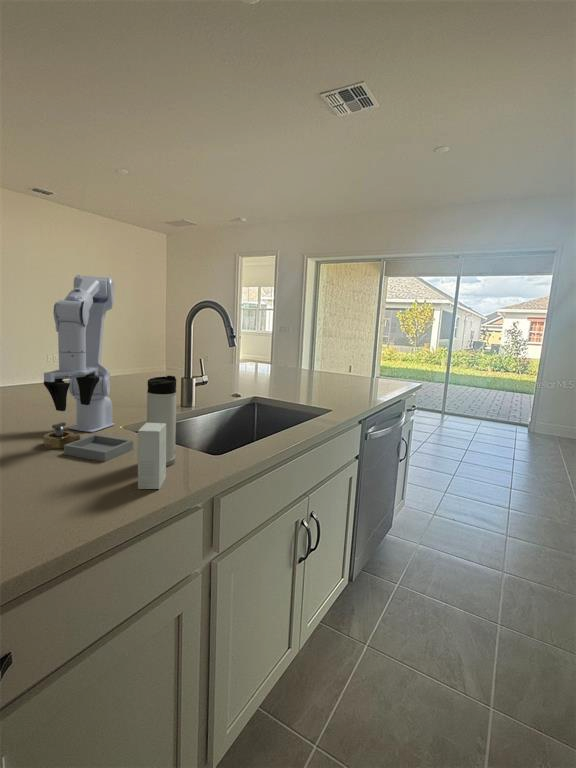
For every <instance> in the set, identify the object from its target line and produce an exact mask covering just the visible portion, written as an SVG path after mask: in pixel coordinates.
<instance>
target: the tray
mask: <svg viewBox="0 0 576 768" xmlns="http://www.w3.org/2000/svg"><path fill="white" fill-rule="evenodd" d="M132 450H134V440H133V439H126V438H120V437H114V436H108V435H107V436H106V435H102V434H95V433H94V434H92V435H89V436H87V437H84V438H80V440H77V441H74V442H72V443H69V444H66V445H64V448H63V455H67V456H72V457H77V458H82V459H89V460H93V461H97V462H98V461H99V462H104V463H105V462H107V461H110V460H112V459H114V458H116V457H118V456H121V455H123V454H126V453H127V452H130V451H132Z"/></svg>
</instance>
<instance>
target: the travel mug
mask: <svg viewBox="0 0 576 768" xmlns="http://www.w3.org/2000/svg"><path fill="white" fill-rule="evenodd" d="M176 388H177V378H176V376H174V375H167V376H158V377H157V376H156V377H152V378H149V379H148V380H147V391H146V394H147V395H146V423H165V424H166V467H170V466H171V465H173V464H174V463H175V462H176V427H177V425H176V424H177V389H176ZM169 465H170V466H169Z"/></svg>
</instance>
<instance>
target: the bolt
mask: <svg viewBox="0 0 576 768" xmlns="http://www.w3.org/2000/svg"><path fill="white" fill-rule="evenodd" d="M66 426H67V424H66V422H64V421H62V422H59V423H55V424H52V426H51V427H52V428H51V429H54V432H55V437H64V435H63V431H64V427H66Z"/></svg>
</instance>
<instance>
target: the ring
mask: <svg viewBox="0 0 576 768" xmlns="http://www.w3.org/2000/svg"><path fill="white" fill-rule="evenodd" d="M63 435H64V437H55V431H51V432H48V433H45V434H44V435H43V446H44V448H47V449H51V450H52V449H58V450H59V449H64V445H66V444H69V443H72V442H74V441H77V440H80V439H81V434H78V433H74V432H73V431H69V430H63Z"/></svg>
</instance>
